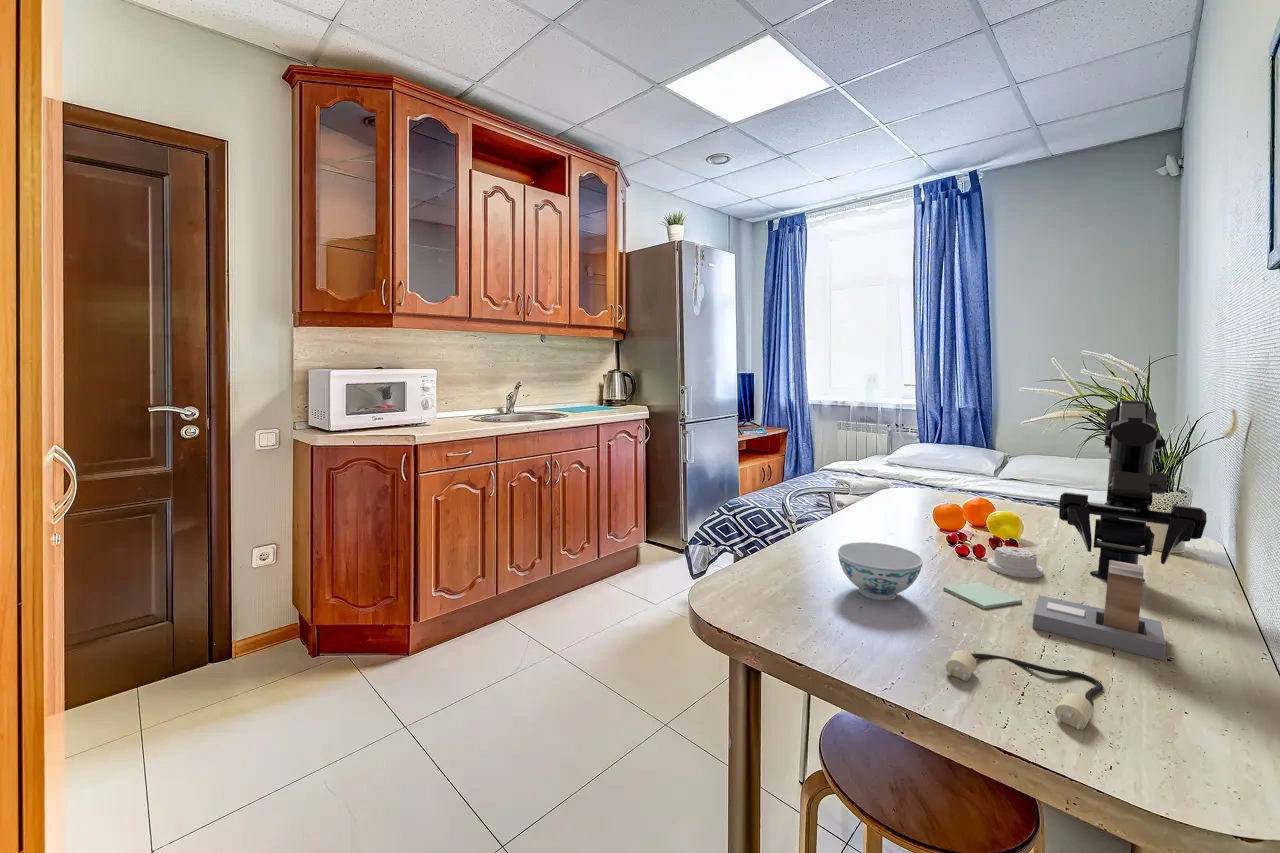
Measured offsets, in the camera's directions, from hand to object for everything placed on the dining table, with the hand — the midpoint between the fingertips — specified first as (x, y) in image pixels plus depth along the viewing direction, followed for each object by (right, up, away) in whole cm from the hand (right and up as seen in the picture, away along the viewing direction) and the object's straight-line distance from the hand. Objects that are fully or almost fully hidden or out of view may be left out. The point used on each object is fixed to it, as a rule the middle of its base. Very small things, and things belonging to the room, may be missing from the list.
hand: (1125, 556), depth 91 cm
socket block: (-6, -12, -1) cm, 14 cm away
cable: (-28, -14, -15) cm, 35 cm away
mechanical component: (0, -10, +27) cm, 29 cm away
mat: (-16, -11, +13) cm, 23 cm away
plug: (-4, -12, -3) cm, 13 cm away
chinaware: (-35, -11, +15) cm, 39 cm away
